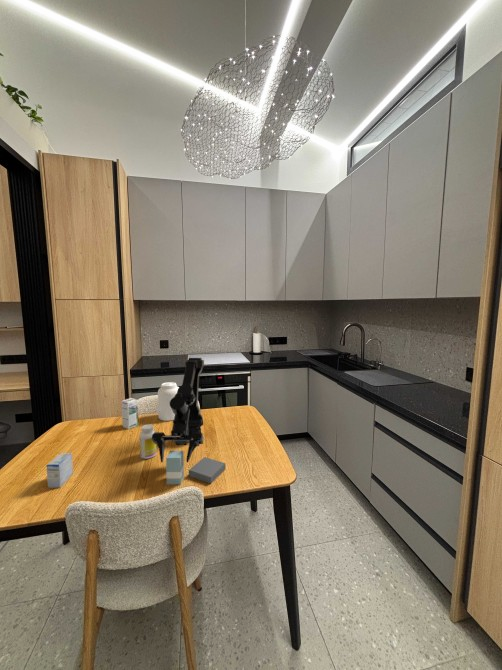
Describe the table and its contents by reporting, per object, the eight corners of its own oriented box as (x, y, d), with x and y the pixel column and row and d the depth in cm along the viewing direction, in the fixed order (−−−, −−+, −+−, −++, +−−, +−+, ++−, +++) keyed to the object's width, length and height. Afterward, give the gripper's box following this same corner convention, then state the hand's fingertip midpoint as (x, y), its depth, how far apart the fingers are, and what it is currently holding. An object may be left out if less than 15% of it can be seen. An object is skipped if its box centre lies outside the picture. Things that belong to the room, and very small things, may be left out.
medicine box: (61, 474, 103) (59, 452, 102) (73, 474, 103) (72, 452, 103) (47, 488, 95) (45, 464, 94) (60, 487, 96) (59, 464, 95)
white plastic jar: (154, 420, 153) (153, 385, 151) (164, 412, 166) (163, 380, 164) (175, 422, 151) (174, 387, 149) (184, 413, 164) (183, 381, 162)
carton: (170, 475, 103) (169, 450, 102) (184, 475, 103) (183, 450, 102) (166, 484, 98) (165, 458, 97) (180, 484, 98) (180, 457, 97)
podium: (188, 476, 103) (188, 469, 102) (204, 462, 112) (204, 457, 111) (211, 483, 98) (211, 477, 98) (225, 469, 107) (225, 463, 107)
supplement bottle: (159, 452, 119) (159, 424, 118) (149, 460, 113) (148, 431, 112) (147, 450, 121) (146, 422, 120) (136, 457, 115) (135, 428, 114)
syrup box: (128, 429, 142) (127, 402, 140) (122, 426, 145) (121, 400, 143) (138, 425, 147) (137, 399, 145) (131, 423, 150) (130, 397, 148)
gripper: (206, 428, 115) (202, 467, 105) (162, 428, 115) (154, 468, 105) (203, 417, 107) (199, 459, 97) (155, 417, 106) (146, 459, 96)
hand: (174, 462), depth 99 cm, fingers open, 9 cm apart
